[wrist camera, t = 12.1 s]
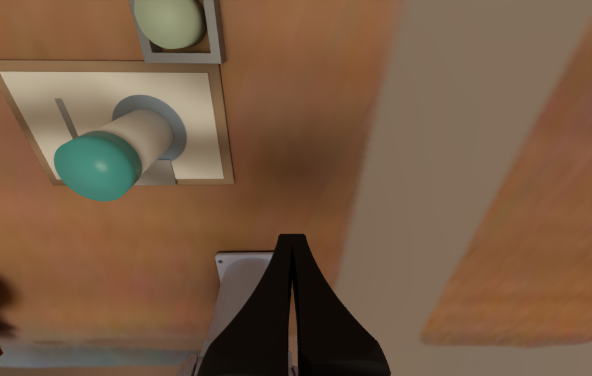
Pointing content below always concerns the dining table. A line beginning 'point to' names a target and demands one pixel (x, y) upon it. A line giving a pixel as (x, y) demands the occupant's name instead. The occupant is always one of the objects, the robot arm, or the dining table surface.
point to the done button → (171, 22)
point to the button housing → (216, 55)
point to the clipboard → (124, 111)
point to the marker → (113, 155)
